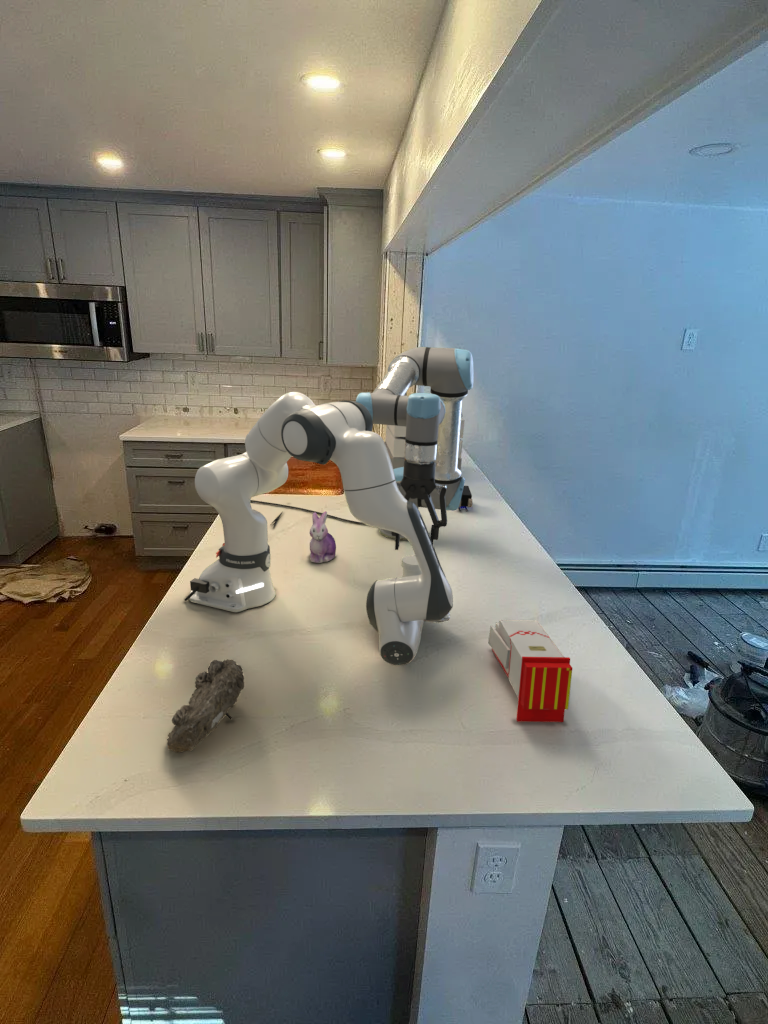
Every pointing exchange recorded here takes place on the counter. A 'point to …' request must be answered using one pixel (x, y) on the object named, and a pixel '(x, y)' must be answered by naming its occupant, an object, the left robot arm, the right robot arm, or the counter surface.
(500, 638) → the toy
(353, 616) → the counter surface
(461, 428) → the transformer
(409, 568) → the lid
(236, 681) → the fossil
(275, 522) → the feather
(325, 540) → the figurine
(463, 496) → the figurine character
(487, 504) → the counter surface
